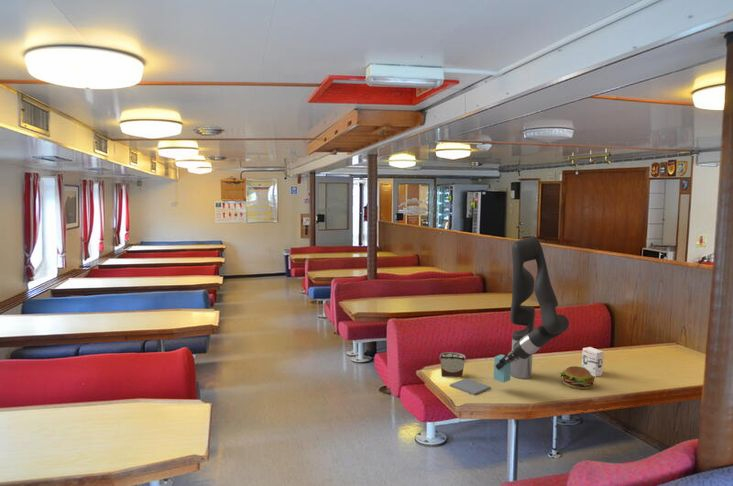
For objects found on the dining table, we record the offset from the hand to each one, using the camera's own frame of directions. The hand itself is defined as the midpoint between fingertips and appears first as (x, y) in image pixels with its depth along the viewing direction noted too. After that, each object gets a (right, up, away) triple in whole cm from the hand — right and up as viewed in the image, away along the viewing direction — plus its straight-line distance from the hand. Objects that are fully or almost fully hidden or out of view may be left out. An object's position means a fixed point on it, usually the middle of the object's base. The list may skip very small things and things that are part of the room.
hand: (500, 366), depth 218 cm
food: (+37, -11, +11) cm, 40 cm away
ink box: (+50, -10, +26) cm, 57 cm away
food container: (-18, -9, +19) cm, 27 cm away
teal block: (0, -6, 0) cm, 6 cm away
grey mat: (-12, -10, +4) cm, 16 cm away
